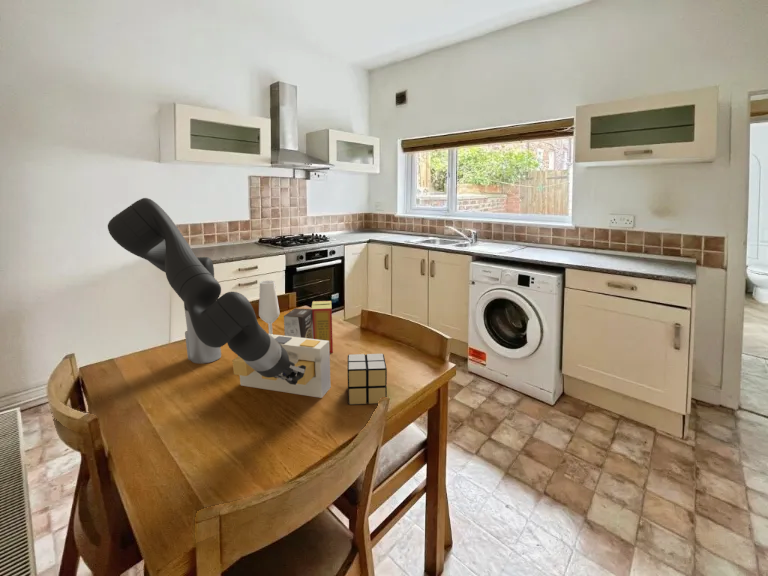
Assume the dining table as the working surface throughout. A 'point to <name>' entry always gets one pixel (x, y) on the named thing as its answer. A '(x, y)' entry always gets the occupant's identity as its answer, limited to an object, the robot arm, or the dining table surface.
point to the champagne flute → (268, 303)
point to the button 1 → (241, 367)
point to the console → (296, 352)
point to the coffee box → (299, 323)
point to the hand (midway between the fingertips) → (294, 380)
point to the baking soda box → (322, 321)
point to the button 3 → (306, 371)
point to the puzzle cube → (366, 378)
